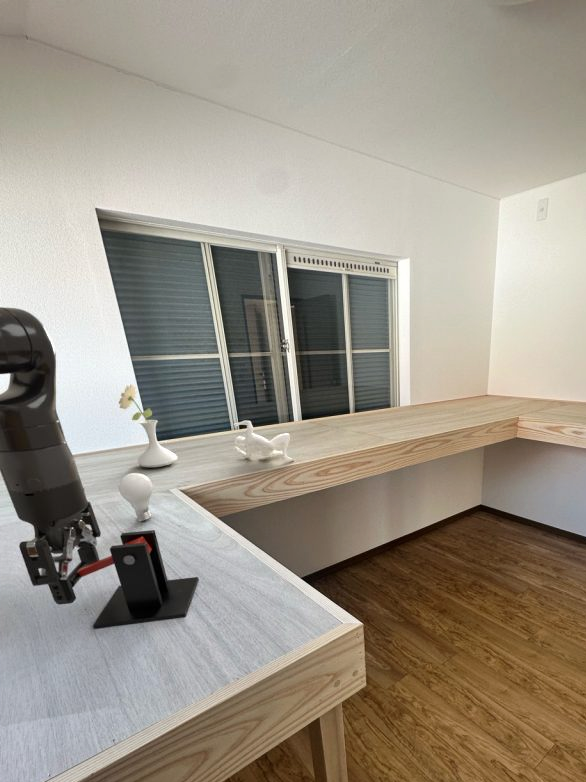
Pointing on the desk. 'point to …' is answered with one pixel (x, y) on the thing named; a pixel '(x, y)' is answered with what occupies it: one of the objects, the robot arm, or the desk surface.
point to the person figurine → (261, 443)
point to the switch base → (144, 585)
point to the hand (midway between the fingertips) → (80, 585)
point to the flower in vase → (154, 452)
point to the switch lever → (97, 564)
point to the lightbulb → (137, 493)
